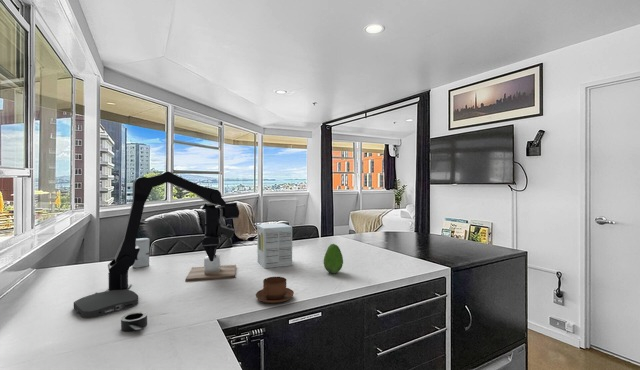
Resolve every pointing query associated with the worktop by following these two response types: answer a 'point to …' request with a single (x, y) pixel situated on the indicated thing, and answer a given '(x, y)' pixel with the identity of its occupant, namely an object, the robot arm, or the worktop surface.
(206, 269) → the white cube
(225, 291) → the worktop surface
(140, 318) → the duct tape
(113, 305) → the media streaming box
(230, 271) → the post stand
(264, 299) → the cup and saucer
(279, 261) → the supplement box
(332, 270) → the avocado
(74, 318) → the worktop surface
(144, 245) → the skincare box
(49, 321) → the worktop surface
